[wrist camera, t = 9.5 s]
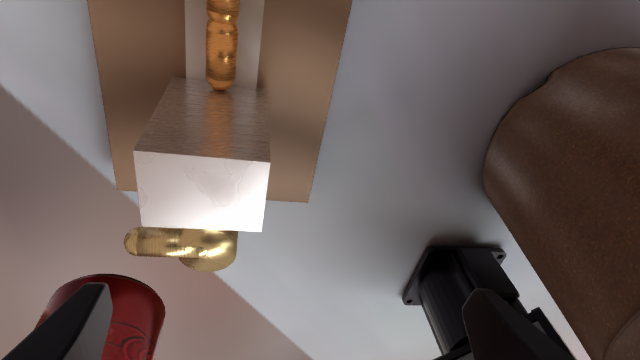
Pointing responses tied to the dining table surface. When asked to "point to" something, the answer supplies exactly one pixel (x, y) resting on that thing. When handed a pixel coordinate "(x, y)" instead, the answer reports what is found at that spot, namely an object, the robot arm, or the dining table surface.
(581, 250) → the plant pot
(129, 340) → the soda can
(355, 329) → the dining table surface
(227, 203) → the grey metal piece
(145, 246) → the keeper hook
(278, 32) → the board
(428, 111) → the dining table surface
